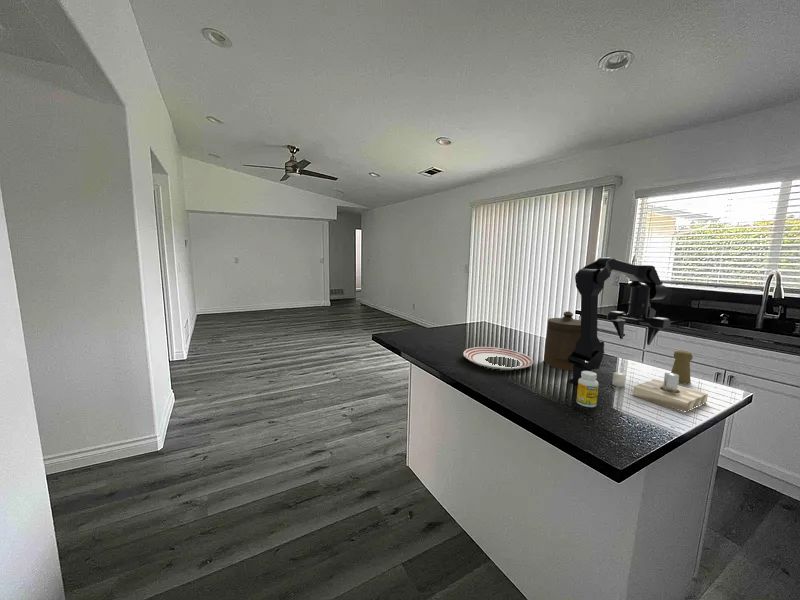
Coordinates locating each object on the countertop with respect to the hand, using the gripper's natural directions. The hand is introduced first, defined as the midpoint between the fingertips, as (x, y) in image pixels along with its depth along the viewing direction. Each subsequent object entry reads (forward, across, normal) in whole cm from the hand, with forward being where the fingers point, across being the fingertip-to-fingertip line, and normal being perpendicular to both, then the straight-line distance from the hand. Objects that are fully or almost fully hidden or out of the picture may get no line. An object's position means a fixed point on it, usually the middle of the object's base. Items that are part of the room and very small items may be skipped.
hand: (634, 341), depth 126 cm
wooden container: (+13, +20, +11) cm, 26 cm away
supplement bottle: (+13, -7, +39) cm, 42 cm away
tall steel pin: (+13, -17, +12) cm, 24 cm away
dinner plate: (+14, +34, +34) cm, 50 cm away
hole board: (+13, -17, +12) cm, 25 cm away
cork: (+13, -11, -11) cm, 20 cm away
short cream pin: (+13, -3, +14) cm, 19 cm away
